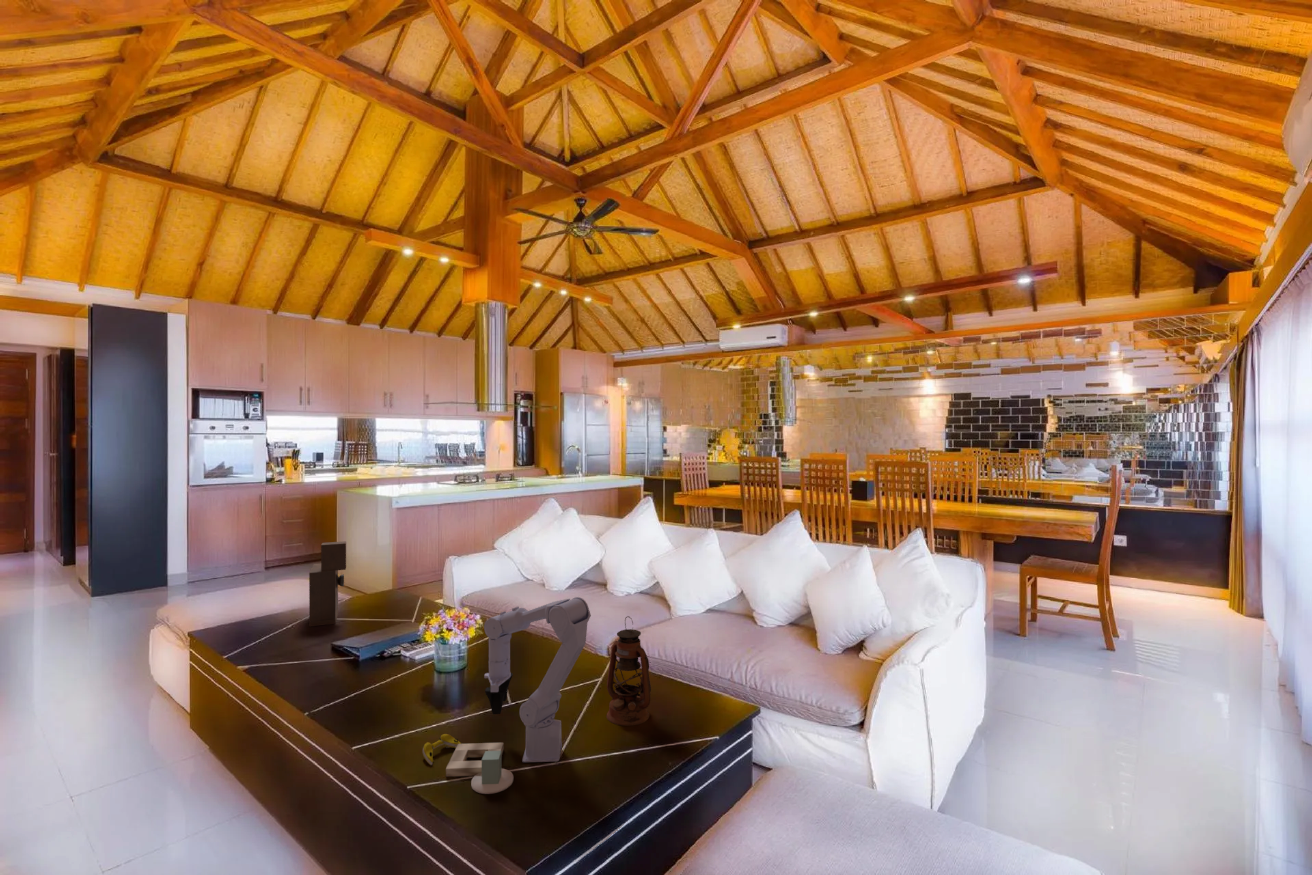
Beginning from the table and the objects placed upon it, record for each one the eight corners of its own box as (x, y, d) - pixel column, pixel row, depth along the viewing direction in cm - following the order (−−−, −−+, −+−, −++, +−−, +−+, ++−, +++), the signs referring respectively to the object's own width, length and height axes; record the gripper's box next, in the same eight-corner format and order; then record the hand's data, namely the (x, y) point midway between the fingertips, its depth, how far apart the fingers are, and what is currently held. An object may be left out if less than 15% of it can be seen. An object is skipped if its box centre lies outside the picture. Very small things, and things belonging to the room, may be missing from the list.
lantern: (592, 715, 186) (593, 616, 186) (620, 700, 197) (620, 607, 196) (636, 732, 176) (637, 628, 176) (663, 715, 187) (663, 616, 186)
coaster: (516, 769, 157) (516, 767, 157) (509, 793, 147) (509, 790, 147) (476, 771, 156) (476, 768, 156) (466, 794, 146) (466, 792, 146)
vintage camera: (345, 622, 274) (345, 543, 273) (309, 626, 268) (308, 546, 267) (347, 610, 291) (347, 536, 290) (313, 613, 285) (313, 538, 285)
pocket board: (503, 749, 166) (503, 742, 166) (494, 774, 154) (494, 766, 154) (458, 751, 165) (458, 743, 165) (445, 776, 153) (445, 768, 153)
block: (501, 774, 153) (501, 750, 153) (498, 783, 149) (498, 759, 149) (485, 774, 153) (485, 751, 153) (481, 784, 149) (481, 759, 149)
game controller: (445, 738, 170) (449, 728, 170) (460, 753, 167) (463, 742, 167) (415, 755, 162) (418, 744, 161) (429, 770, 159) (433, 759, 158)
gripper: (490, 649, 178) (490, 695, 178) (479, 668, 163) (479, 719, 163) (514, 648, 178) (514, 695, 178) (506, 668, 164) (505, 719, 164)
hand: (499, 707), depth 171 cm, fingers open, 7 cm apart
